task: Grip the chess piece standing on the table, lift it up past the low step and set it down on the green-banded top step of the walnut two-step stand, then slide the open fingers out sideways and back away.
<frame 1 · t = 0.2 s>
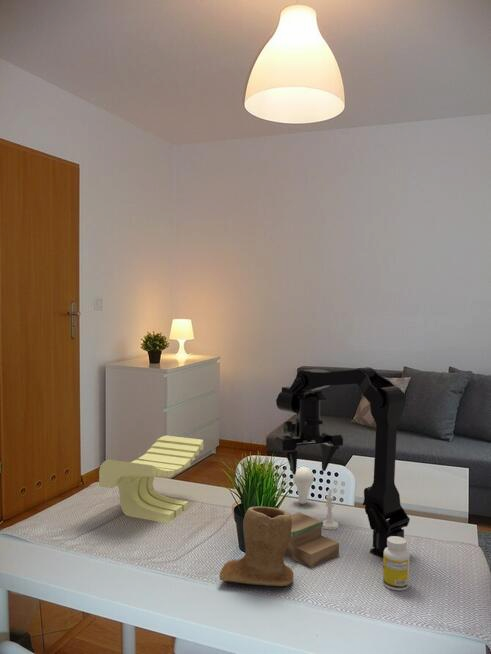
hand: (308, 472, 156), 13 cm above the table, tool pointing down, fingers open, 9 cm apart
supplement bottle: (395, 586, 121), on the table
chess piece: (329, 526, 153), on the table
step stand: (304, 551, 137), on the table
lightbulb: (302, 504, 169), on the table
slatted curved stool: (154, 511, 162), on the table
brown suede boot: (258, 578, 123), on the table
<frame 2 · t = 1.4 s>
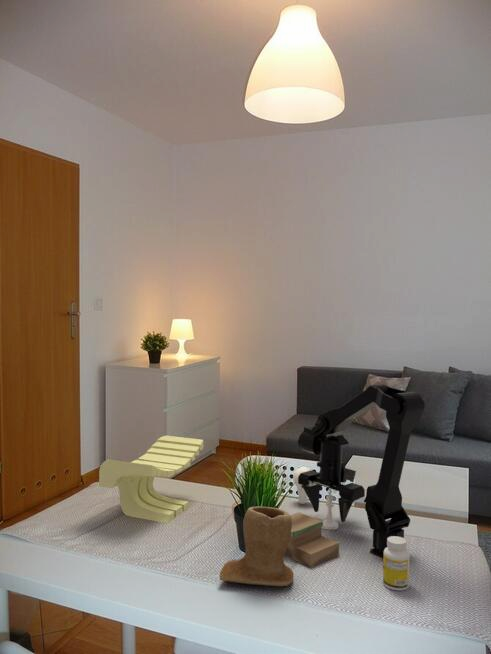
hand: (329, 516, 153), 3 cm above the table, tool pointing down, fingers open, 9 cm apart
nothing on the table moved.
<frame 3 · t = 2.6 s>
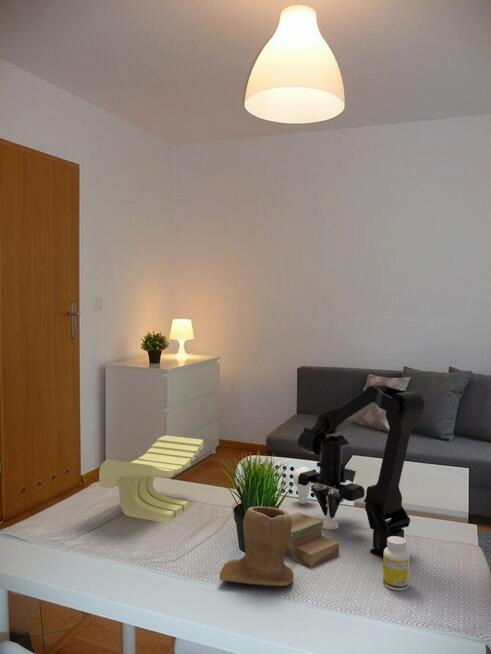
hand: (329, 516, 153), 3 cm above the table, tool pointing down, fingers closed on chess piece
chess piece: (329, 526, 153), on the table, touching gripper
everything else where it was.
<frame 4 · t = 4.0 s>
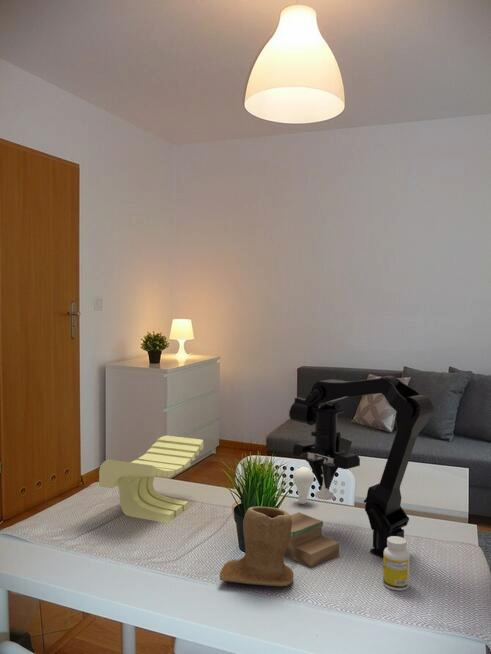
hand: (324, 487, 150), 11 cm above the table, tool pointing down, fingers closed on chess piece
chess piece: (324, 497, 150), point 9 cm above the table, touching gripper
everything else where it was.
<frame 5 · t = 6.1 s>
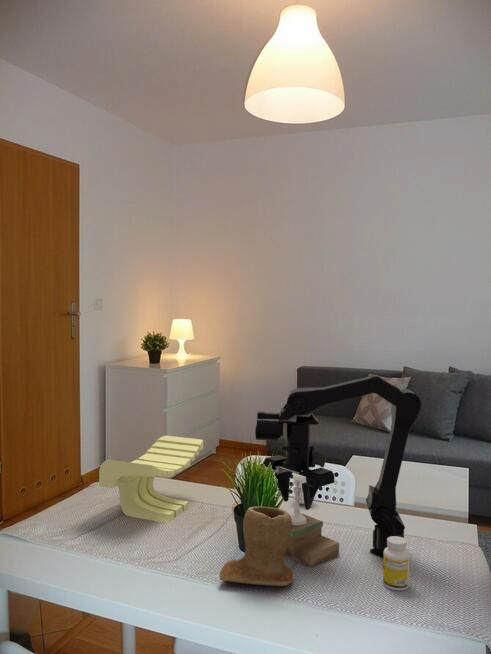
hand: (296, 505, 138), 10 cm above the table, tool pointing down, fingers open, 7 cm apart
chess piece: (296, 522, 138), point 6 cm above the table, touching step stand
everything else where it was.
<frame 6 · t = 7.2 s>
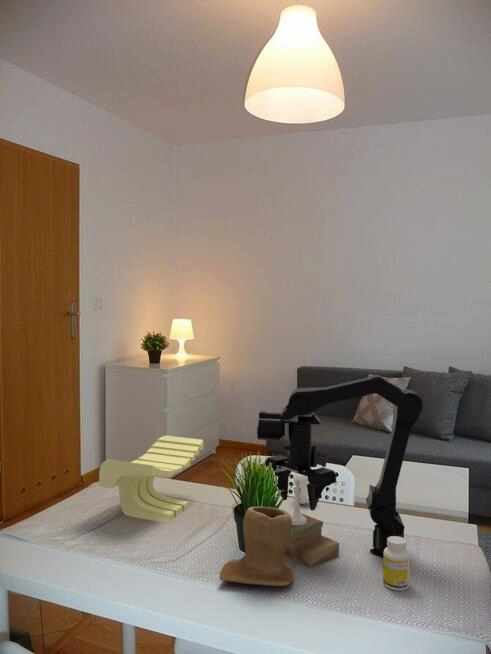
hand: (298, 504, 139), 10 cm above the table, tool pointing down, fingers open, 9 cm apart
nothing on the table moved.
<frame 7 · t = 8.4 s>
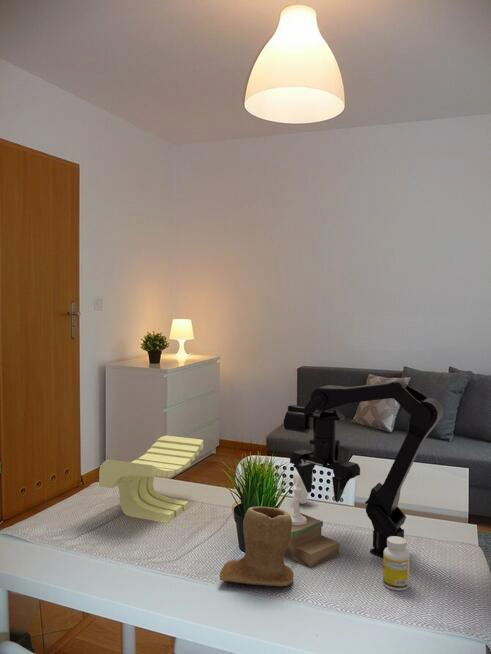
hand: (323, 496, 145), 10 cm above the table, tool pointing down, fingers open, 9 cm apart
nothing on the table moved.
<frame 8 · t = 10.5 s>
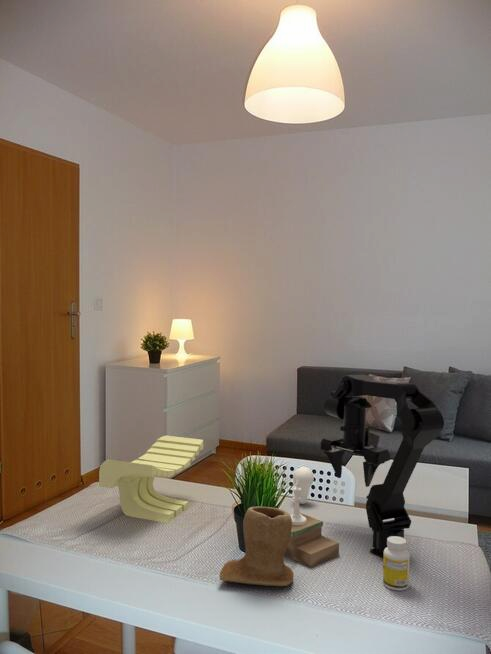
hand: (353, 482, 149), 13 cm above the table, tool pointing down, fingers open, 9 cm apart
nothing on the table moved.
at the end: chess piece inside the target area on the step stand (0.0 cm from its centre), point 6.3 cm above the step stand's base; chess piece tilted 0°; the gripper is holding nothing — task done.
